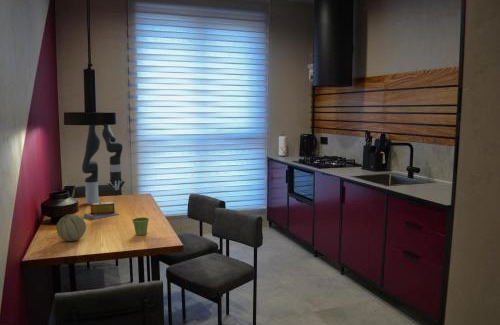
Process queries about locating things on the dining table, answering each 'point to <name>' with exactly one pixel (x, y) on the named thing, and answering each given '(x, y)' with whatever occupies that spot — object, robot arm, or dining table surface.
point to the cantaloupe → (71, 227)
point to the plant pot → (140, 225)
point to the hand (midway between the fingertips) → (116, 195)
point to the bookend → (99, 215)
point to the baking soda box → (103, 207)
